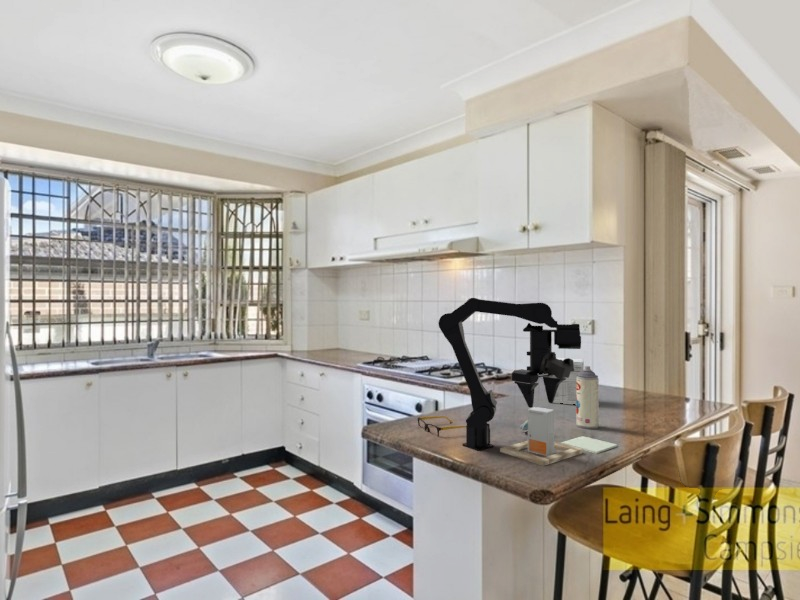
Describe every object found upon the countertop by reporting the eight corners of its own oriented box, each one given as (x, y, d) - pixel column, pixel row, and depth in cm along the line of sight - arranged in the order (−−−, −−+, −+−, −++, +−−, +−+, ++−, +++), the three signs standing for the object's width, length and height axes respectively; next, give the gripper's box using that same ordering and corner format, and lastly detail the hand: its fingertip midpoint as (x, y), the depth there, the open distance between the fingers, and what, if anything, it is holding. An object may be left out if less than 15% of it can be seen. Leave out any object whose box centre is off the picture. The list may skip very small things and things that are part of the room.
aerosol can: (576, 423, 162) (576, 364, 163) (598, 425, 160) (598, 365, 160) (576, 427, 156) (576, 367, 156) (598, 430, 154) (598, 368, 154)
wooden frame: (543, 466, 119) (543, 461, 119) (500, 452, 130) (500, 448, 130) (582, 453, 130) (582, 448, 130) (539, 441, 141) (539, 437, 141)
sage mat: (596, 453, 129) (596, 451, 129) (561, 444, 138) (561, 442, 138) (617, 446, 136) (617, 444, 136) (582, 437, 145) (582, 436, 145)
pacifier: (536, 427, 153) (542, 415, 149) (545, 443, 148) (551, 432, 145) (516, 429, 151) (521, 417, 147) (523, 446, 146) (530, 434, 143)
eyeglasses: (415, 429, 156) (415, 417, 156) (452, 424, 162) (452, 412, 162) (436, 440, 143) (436, 427, 143) (476, 435, 149) (476, 422, 149)
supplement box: (583, 405, 190) (583, 362, 191) (549, 403, 195) (549, 360, 196) (583, 399, 203) (583, 358, 203) (551, 397, 208) (551, 357, 208)
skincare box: (527, 452, 130) (527, 408, 130) (534, 449, 133) (534, 406, 134) (548, 457, 126) (548, 412, 126) (555, 453, 129) (555, 409, 129)
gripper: (545, 352, 118) (546, 415, 118) (586, 348, 130) (586, 405, 130) (509, 349, 127) (510, 407, 127) (550, 345, 139) (551, 399, 138)
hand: (540, 405), depth 130 cm, fingers open, 9 cm apart
